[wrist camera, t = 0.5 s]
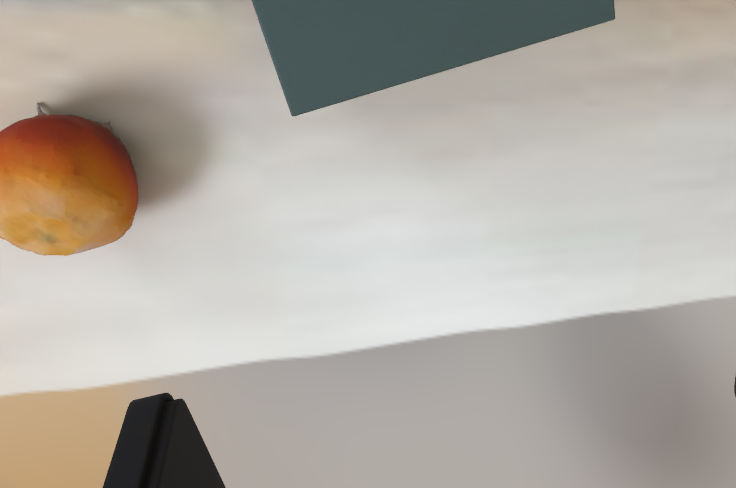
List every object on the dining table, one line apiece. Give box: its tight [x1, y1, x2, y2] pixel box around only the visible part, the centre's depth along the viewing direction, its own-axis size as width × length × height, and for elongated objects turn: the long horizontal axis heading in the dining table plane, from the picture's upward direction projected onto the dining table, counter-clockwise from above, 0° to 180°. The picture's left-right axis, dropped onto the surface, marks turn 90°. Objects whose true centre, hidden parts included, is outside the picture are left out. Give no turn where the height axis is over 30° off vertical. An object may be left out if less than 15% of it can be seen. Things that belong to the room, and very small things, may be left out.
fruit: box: [0, 103, 138, 256], centre depth 34 cm, size 8×8×8 cm
